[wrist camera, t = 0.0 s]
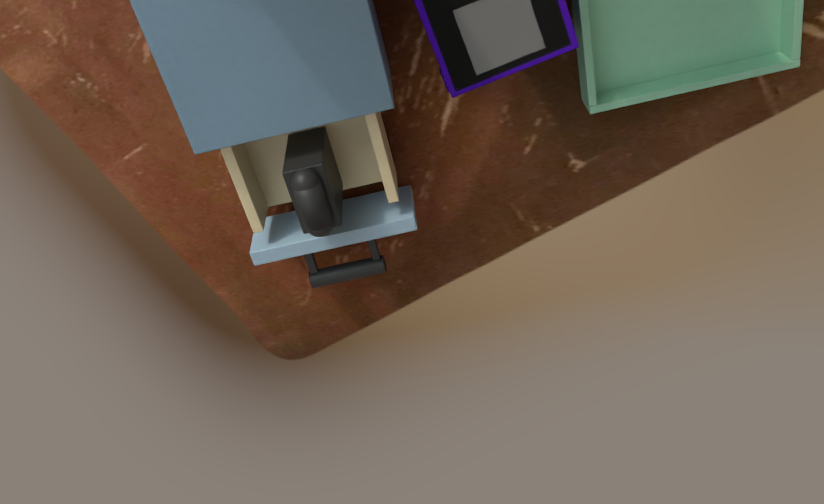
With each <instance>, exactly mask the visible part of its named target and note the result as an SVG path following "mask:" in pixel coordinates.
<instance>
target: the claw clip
mask: <svg viewBox="0 0 824 504" xmlns="http://www.w3.org/2000/svg"><path fill="white" fill-rule="evenodd" d="M282 175H283V178H284V180H285V183H286V186H287V189H288V192H289V194H290V197H291V200H292V203H293V206H294V208H295V211H296V214H297V217H298V220H299V222H300V225H301V228H302V231H303V233H304V234H307V233H309V234H311V235H312V236H315V237H324V236H326V235H328V234H329V233H330V232H331V230H332V228H334V227H338V226H342V205H343V183H342V179H341V176H340V173H339V170H338V166H337V163H336V160H335V157H334V153H333V150H332V147H331V144H330V141H329V137H328V134H327V131H326V128H325V126H324V127H320V128H315V129H311V130H307V131H302V132H298V133H294V134H290V135H288V140H287V146H286V152H285V159H284V165H283V171H282Z"/></svg>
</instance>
